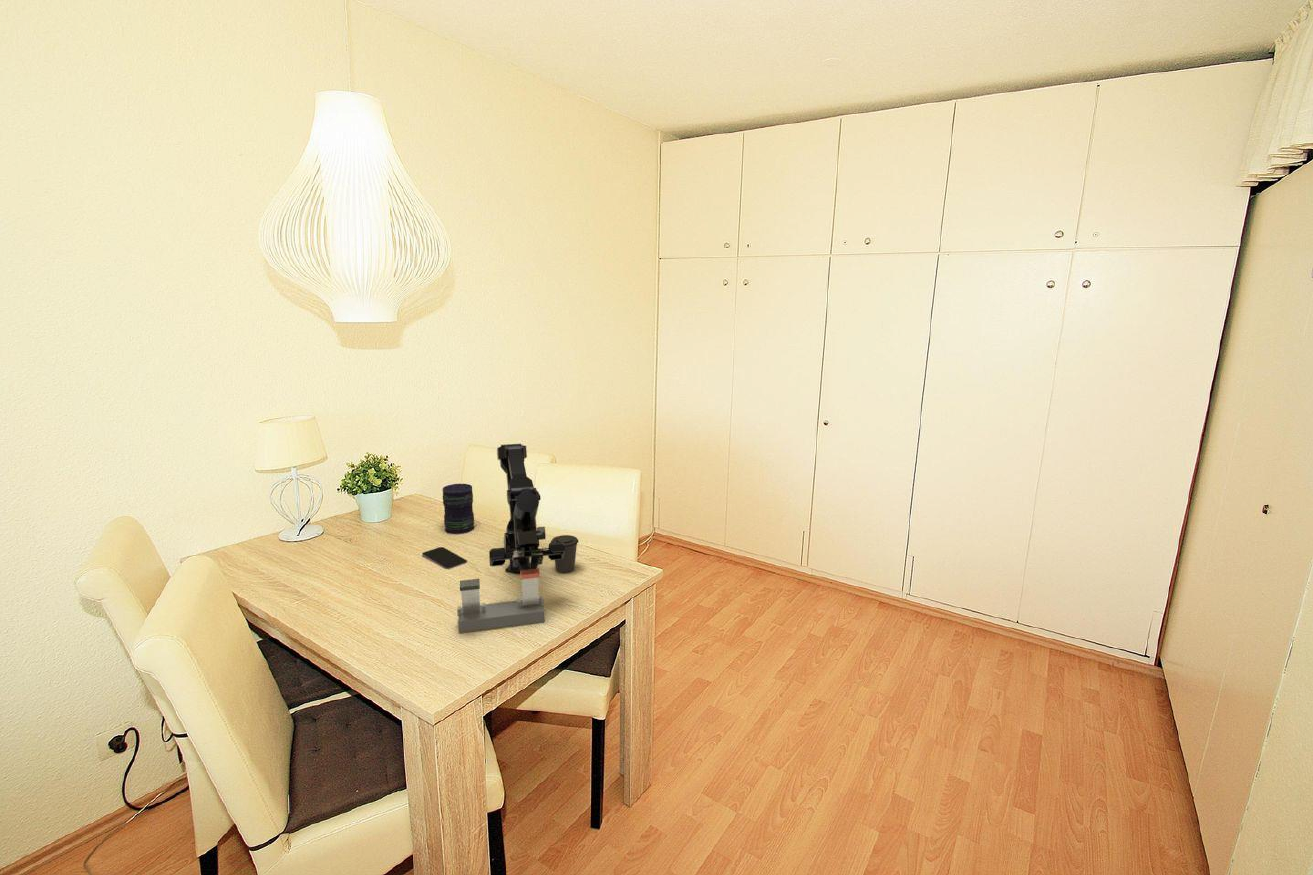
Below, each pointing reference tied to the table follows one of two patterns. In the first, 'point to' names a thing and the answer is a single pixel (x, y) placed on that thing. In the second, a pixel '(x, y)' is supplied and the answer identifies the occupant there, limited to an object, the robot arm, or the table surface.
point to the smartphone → (444, 558)
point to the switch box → (500, 616)
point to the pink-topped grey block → (530, 586)
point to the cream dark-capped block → (470, 595)
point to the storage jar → (458, 508)
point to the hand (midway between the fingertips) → (530, 586)
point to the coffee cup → (566, 553)
